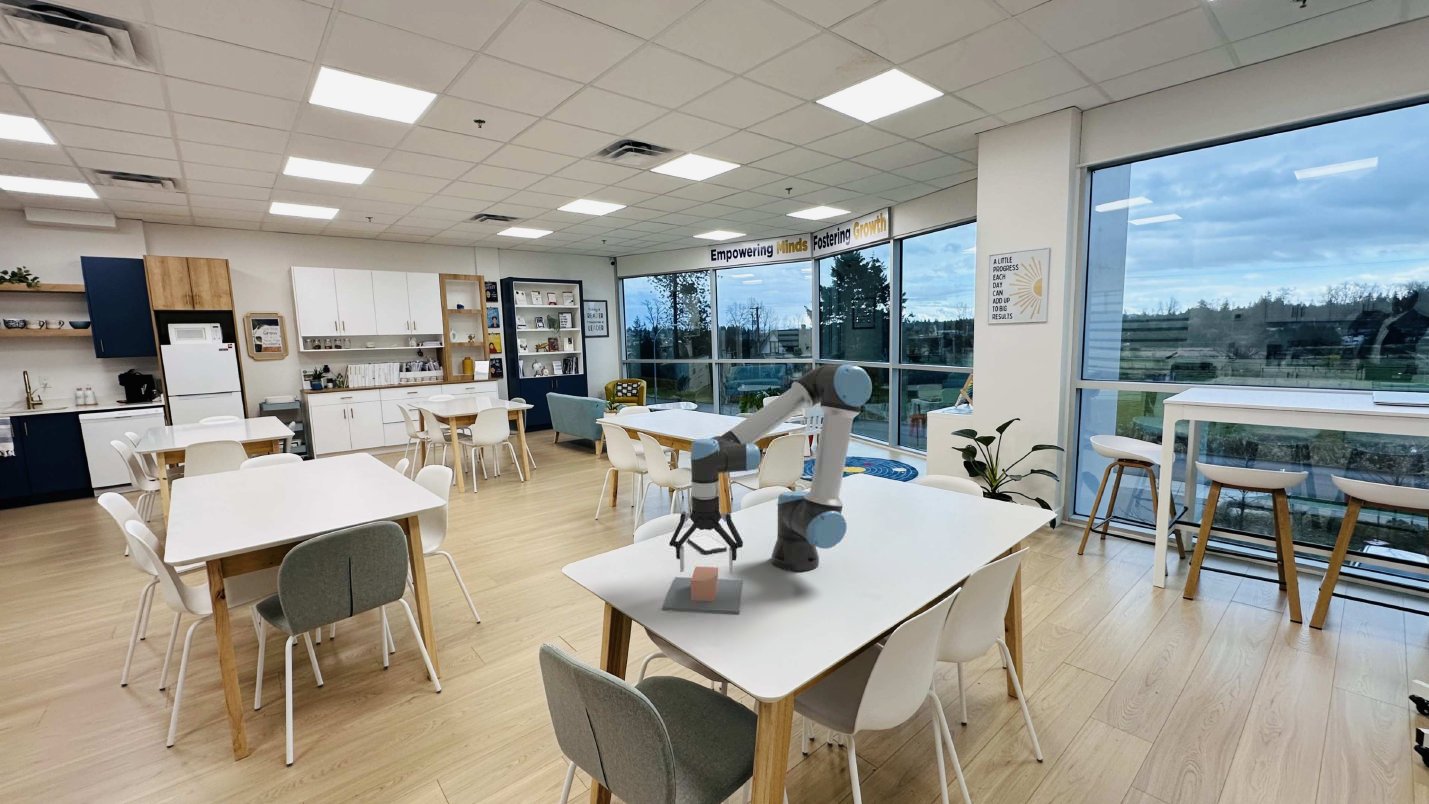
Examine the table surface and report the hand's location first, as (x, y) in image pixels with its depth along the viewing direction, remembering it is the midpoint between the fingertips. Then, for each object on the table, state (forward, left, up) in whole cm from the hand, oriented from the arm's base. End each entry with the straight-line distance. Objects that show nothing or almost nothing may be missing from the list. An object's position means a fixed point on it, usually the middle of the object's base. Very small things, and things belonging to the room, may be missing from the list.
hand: (706, 570), depth 154 cm
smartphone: (+5, -40, -8) cm, 41 cm away
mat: (0, 0, -7) cm, 7 cm away
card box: (0, 0, -6) cm, 6 cm away
